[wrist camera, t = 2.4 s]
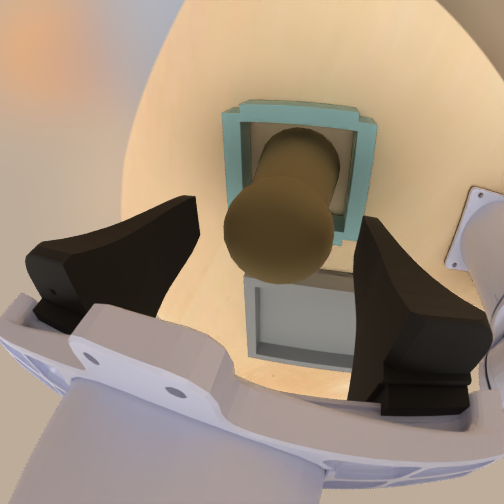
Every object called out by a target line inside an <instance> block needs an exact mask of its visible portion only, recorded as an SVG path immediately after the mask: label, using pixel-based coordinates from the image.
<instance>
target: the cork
mask: <svg viewBox="0 0 504 504" xmlns="http://www.w3.org/2000/svg"><path fill="white" fill-rule="evenodd" d="M339 171H340V163H339V158H338V154H337V152H336V150H335V148H334V147H333V145H332V143H331V142H329V141H328V140H327V139H326V138H325V137H324V136H323V135H322V134H319V133H317V132H315V131H313V130H311V129H305V128H297V127H296V128H291V129H285V130H283V131H281V132H279V133H277V134H276V135H274V136H273V137H272V138H271V139H270V140H269V141H268V142H267V143H266V145H265V147H264V149H263V152H262V154H261V157H260V161H259V164H258V167H257V171H256V174H255V177H254V181H253V183H252V184H250V185H249V186H247V187H245V188H243V189H242V190H241V192H240V193H239V194H238V195H237V196H236V197H235V199H234V200H233V201H232V202H231V204H230V205H229V208H228V211H227V214H226V217H225V220H224V240H225V243H226V245H227V248H228V251H229V253H230V256H231V258H232V259H233V260H234V261H235V263H236V264H237V265H238V267H239V268H240V269H242V270H243V271H244V272H246V273H247V274H248V275H250V276H251V277H253V278H256V279H258V280H260V281H263V282H266V283H272V284H277V285H279V284H292V283H295V282H299V281H302V280H304V279H306V278H308V277H309V276H311V275H312V274H313V273H315V272H316V271H318V270H319V269H320V268H321V267H322V265H323V264H324V262H325V261H326V259H327V258H328V256H329V254H330V252H331V249H332V244H333V240H334V225H333V219H332V214H331V212H330V210H329V208H328V207H329V205H330V202H331V199H332V196H333V193H334V190H335V187H336V184H337V181H338V177H339Z"/></svg>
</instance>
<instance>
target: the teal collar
mask: <svg viewBox="0 0 504 504" xmlns="http://www.w3.org/2000/svg"><path fill="white" fill-rule="evenodd" d="M250 122H267V123H286V124H299V125H311V126H321V127H330V128H338V129H346V130H353V131H354V137H353V147H352V156H351V164H350V173H349V180H348V188H347V195H346V202H345V208H344V215H343V216H340V215H333V214H332V219H333V225H334V240H333V244H332V245H338V246H341V245H342V240H343V239H344V240H351V241H357V240H358V236H359V231H360V226H361V222H362V217H363V216H364V211H365V206H366V200H367V195H368V189H369V183H370V177H371V170H372V164H373V157H374V149H375V141H376V133H377V124H376V123H375V121H374V120H373V119H372V118H366V117H360V116H359V112H358V110H357V109H356V108H354V107H347V106H339V105H331V104H321V103H310V102H297V101H278V100H248V101H246V102H243V103H241V104H239V108H232V109H230V110H227V111H225V112H223V113H222V123H223V140H224V157H225V172H226V187H227V202H228V208H229V205H230V204H231V202H232V201H233V200H234V199H235V197H236V196H237V195H238V194H239V193H240V192H241V190H242V189H243V188H245V187H247V186H249V185H250V184H252V183H251V142H250Z"/></svg>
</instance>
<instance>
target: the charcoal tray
mask: <svg viewBox="0 0 504 504" xmlns="http://www.w3.org/2000/svg"><path fill="white" fill-rule="evenodd" d="M244 294H245V312H246V329H247V346H248V357H251V358H256V359H261V360H267V361H272V362H278V363H284V364H290V365H296V366H302V367H309V368H316V369H324V370H332V371H340V372H349V373H352V366H353V357H354V348H355V336H356V309H355V295H354V282H353V274H352V273H344V272H337V271H330V270H323V269H319V270H318V271H316V272H315V273H313V274H312V275H311V276H309V277H308V278H306V279H304V280H302V281H299V282H295V283H292V284H279V285H277V284H272V283H266V282H263V281H260V280H258V279H256V278H253V277H251V276H250V275H248V274H247V273H246V272H245V274H244Z"/></svg>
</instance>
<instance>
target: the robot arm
mask: <svg viewBox="0 0 504 504" xmlns="http://www.w3.org/2000/svg"><path fill="white" fill-rule="evenodd" d="M479 193H481V195H480V196H478V194H479ZM199 237H200V229H199V221H198V213H197V205H196V197H195V196H186V195H183V196H179V197H176V198H174V199H171V200H169V201H167V202H165V203H162V204H160V205H158V206H156V207H154V208H152V209H150V210H148V211H145V212H143V213H141V214H139V215H136V216H134V217H132V218H130V219H128V220H125V221H123V222H120V223H118V224H115V225H112V226H110V227H107V228H104V229H100V230H97V231H93V232H90V233H87V234H83V235H79V236H74V237H69V238H64V239H58V240H51V241H44V242H41V243H40V244H38V245H37V246H36V247H35V248H34V249H33V250H32V251H31V252H30V253H29V254H28V255H27V256H26V260H25V263H26V268H27V271H28V273H29V276H30V278H31V279H32V281H33V283H34V285H35V287H36V289H37V290H38V292H39V293H40V295H41V297H42V299H41V300H40V302H39V303H38V302H37V301H36V300H35V299H33V298H32V297H30V296H28V295H26V294H24V293H20V295H19V296H18V297H17V298H16V299H15V300H14V302H13V303H12V304H11V305H10V306H9V307H8V309H7V310H6V311H5V312H4V313H3V315H2V316H1V317H0V343H1V344H2V345H3V346H4V347H5V349H6V350H7V351H8V352H9V353H10V354H11V355H12V356H13V358H14V359H15V360H16V361H17V362H18V363H19V364H20V365H21V366H22V367H23V368H25V369H26V370H27V371H28V372H30V373H31V374H32V375H34V376H35V377H36V378H38V379H39V380H40V381H41V382H43V383H44V384H45V385H47V386H48V387H49V388H51V389H52V390H53V391H55V392H56V393H58V394H59V395H60V396H62V397H63V398H62V400H61V401H60V403H59V405H58V407H57V408H56V410H55V412H54V413H53V415H52V417H51V419H50V421H49V423H48V424H47V426H46V428H45V430H44V431H43V433H42V435H41V437H40V439H39V441H38V443H37V444H36V446H35V448H34V450H33V452H32V454H31V456H30V458H29V460H28V462H27V464H26V466H25V468H24V471H23V473H22V475H21V477H20V479H19V481H18V483H17V485H16V488H15V490H14V492H13V494H12V497H11V499H10V501H9V504H319V501H320V497H321V492H322V489H372V488H373V489H374V488H388V487H398V486H408V485H416V484H423V483H430V482H436V481H442V480H448V479H453V478H458V477H463V476H466V475H468V474H470V473H472V472H475V471H477V470H479V469H481V468H483V467H485V466H487V465H489V464H492V463H493V462H495V461H497V460H499V459H501V458H503V457H504V195H502V194H499V193H496V192H492V191H489V190H486V189H482V188H479V187H472V188H471V190H470V192H469V196H468V199H467V202H466V205H465V209H464V212H463V215H462V218H461V221H460V223H459V226H458V229H457V232H456V234H455V237H454V240H453V242H452V245H451V248H450V250H449V253H448V255H447V257H446V260H445V266H446V268H449V269H455V270H462V271H469V273H470V275H471V278H472V280H473V282H474V285H475V287H476V290H477V292H478V295H479V297H480V300H481V302H482V305H483V308H484V310H485V312H484V311H482V310H480V309H478V308H477V307H475V306H473V305H471V304H470V303H468V302H466V301H464V300H463V299H461V298H460V297H458V296H457V295H455V294H454V293H452V292H451V291H449V290H448V289H447V288H445V287H444V286H443V285H441V284H440V283H439V282H438V281H436V280H435V279H434V278H433V277H431V276H430V275H429V274H428V273H427V272H426V271H425V270H423V269H422V268H421V267H420V266H419V265H418V264H417V263H416V262H415V261H414V260H413V259H412V258H411V257H410V256H409V255H408V254H407V253H406V251H405V250H404V249H403V248H402V247H401V246H400V245H399V244H398V242H397V241H396V240H395V239H394V238H393V236H392V235H391V234H390V233H389V232H388V230H387V229H386V228H385V227H384V225H383V224H382V223H381V222H380V221H379V219H378V218H375V217H369V216H363V217H362V222H361V226H360V231H359V236H358V240H357V245H356V249H355V253H354V264H353V282H354V295H355V309H356V336H355V348H354V357H353V366H352V373H351V380H350V386H349V392H348V398H347V400H337V399H328V398H320V397H313V396H306V395H299V394H293V393H287V392H281V391H276V390H271V389H268V388H265V387H262V386H259V385H257V384H254V383H251V382H249V381H246V380H243V379H241V378H238V377H236V376H235V370H234V363H233V361H232V359H231V358H230V356H229V354H228V352H227V351H226V349H225V348H224V346H222V345H221V344H220V343H218V342H217V341H216V340H214V339H213V338H212V337H210V336H209V335H207V334H205V333H202V332H200V331H197V330H195V329H192V328H190V327H187V326H183V325H179V324H175V323H172V322H168V321H164V320H160V319H157V318H155V317H156V315H157V312H158V310H159V308H160V306H161V304H162V301H163V299H164V297H165V295H166V293H167V291H168V290H169V288H170V286H171V285H172V283H173V282H174V280H175V278H176V277H177V275H178V274H179V272H180V271H181V269H182V268H183V266H184V265H185V263H186V261H187V260H188V258H189V257H190V255H191V254H192V252H193V250H194V248H195V246H196V244H197V241H198V239H199ZM453 263H455V264H454V265H452V264H453ZM478 363H479V385H480V390H479V391H475V392H472V393H470V394H468V388H467V385H470V384H471V381H472V380H471V374H470V372H471V371H472V370H473V369H474V368H475V367H476V365H477V364H478Z"/></svg>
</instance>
